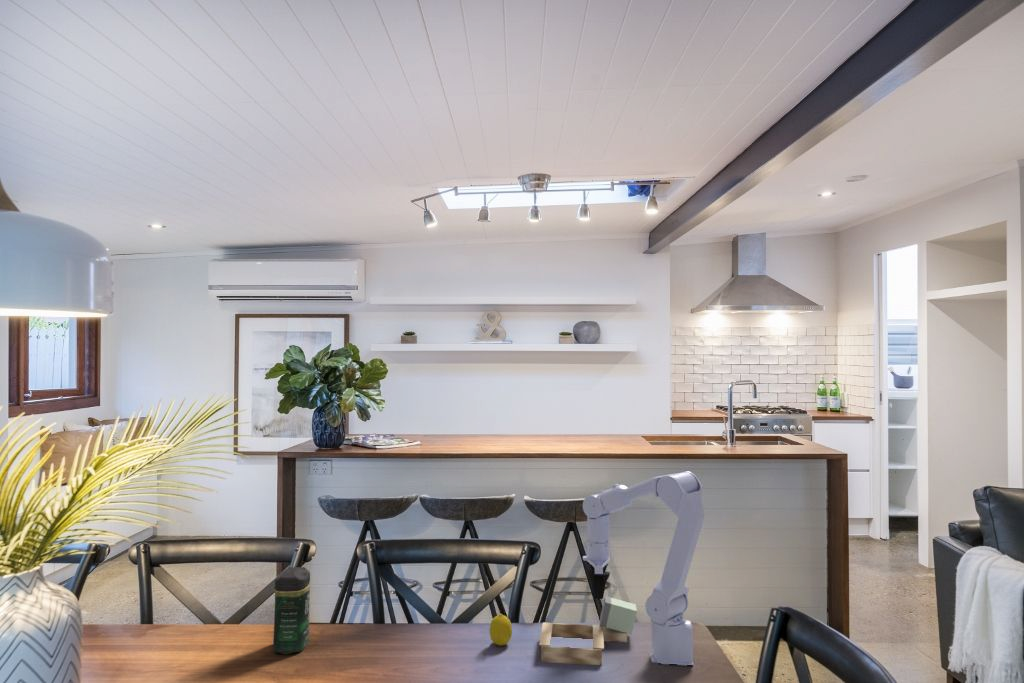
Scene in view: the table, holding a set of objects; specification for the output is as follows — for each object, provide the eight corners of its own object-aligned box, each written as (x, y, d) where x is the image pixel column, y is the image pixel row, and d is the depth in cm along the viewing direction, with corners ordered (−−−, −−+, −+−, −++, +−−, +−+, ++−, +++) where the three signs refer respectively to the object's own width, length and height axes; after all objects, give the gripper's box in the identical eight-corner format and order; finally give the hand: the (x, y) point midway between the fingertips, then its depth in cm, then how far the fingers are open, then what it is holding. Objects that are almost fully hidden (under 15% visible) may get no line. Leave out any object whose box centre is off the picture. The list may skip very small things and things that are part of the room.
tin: (630, 627, 168) (635, 604, 168) (631, 634, 163) (637, 611, 163) (599, 618, 169) (605, 595, 169) (600, 625, 164) (605, 602, 164)
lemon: (502, 654, 158) (502, 620, 158) (484, 647, 161) (485, 614, 161) (516, 645, 162) (516, 613, 162) (498, 640, 165) (498, 608, 166)
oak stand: (625, 634, 169) (625, 624, 169) (627, 644, 163) (627, 634, 163) (602, 633, 170) (602, 623, 170) (602, 643, 164) (602, 633, 164)
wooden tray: (602, 641, 165) (602, 624, 165) (604, 667, 151) (604, 649, 151) (543, 638, 166) (543, 621, 166) (538, 664, 152) (538, 645, 152)
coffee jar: (303, 655, 157) (304, 576, 157) (269, 655, 156) (270, 577, 157) (313, 637, 166) (313, 563, 167) (281, 638, 166) (281, 564, 166)
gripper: (583, 532, 179) (583, 582, 179) (582, 548, 164) (582, 602, 164) (609, 533, 178) (609, 583, 178) (611, 549, 164) (611, 603, 163)
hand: (598, 593), depth 171 cm, fingers open, 7 cm apart
